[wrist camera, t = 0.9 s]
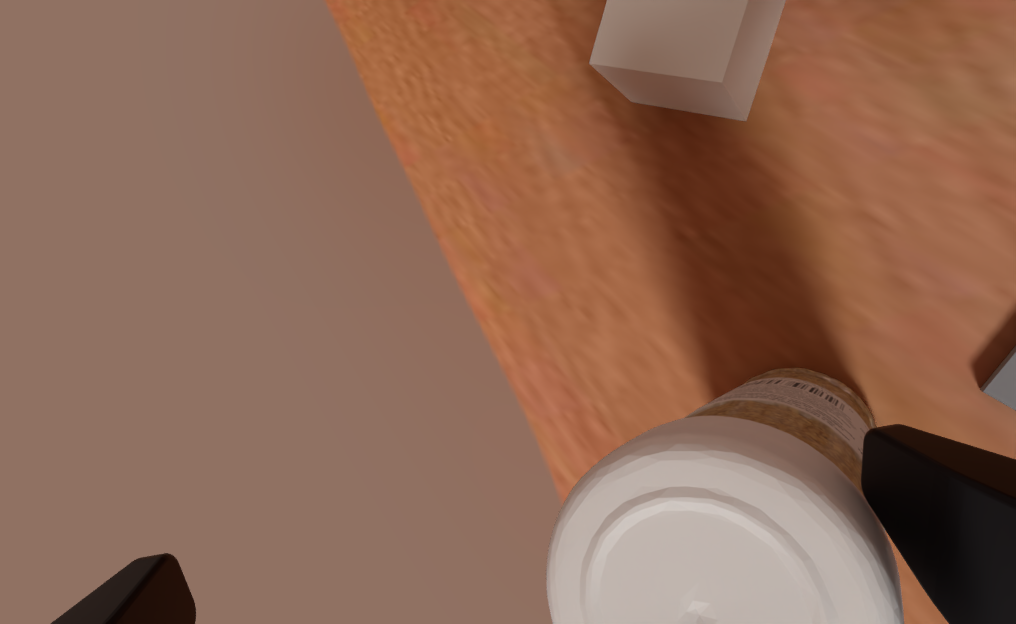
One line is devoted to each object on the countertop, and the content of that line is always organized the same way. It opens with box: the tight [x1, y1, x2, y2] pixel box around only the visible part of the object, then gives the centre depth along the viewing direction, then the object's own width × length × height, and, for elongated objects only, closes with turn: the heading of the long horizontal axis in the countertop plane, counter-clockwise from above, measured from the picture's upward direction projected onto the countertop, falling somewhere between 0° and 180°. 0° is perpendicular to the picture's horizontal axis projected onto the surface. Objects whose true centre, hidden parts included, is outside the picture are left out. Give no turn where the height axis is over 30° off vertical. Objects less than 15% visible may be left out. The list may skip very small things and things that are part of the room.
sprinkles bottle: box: [546, 368, 904, 624], centre depth 14 cm, size 5×5×13 cm
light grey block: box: [589, 0, 786, 121], centre depth 20 cm, size 4×4×4 cm
